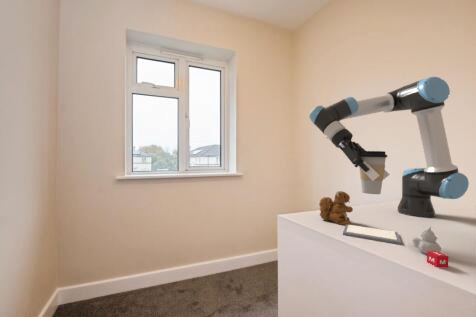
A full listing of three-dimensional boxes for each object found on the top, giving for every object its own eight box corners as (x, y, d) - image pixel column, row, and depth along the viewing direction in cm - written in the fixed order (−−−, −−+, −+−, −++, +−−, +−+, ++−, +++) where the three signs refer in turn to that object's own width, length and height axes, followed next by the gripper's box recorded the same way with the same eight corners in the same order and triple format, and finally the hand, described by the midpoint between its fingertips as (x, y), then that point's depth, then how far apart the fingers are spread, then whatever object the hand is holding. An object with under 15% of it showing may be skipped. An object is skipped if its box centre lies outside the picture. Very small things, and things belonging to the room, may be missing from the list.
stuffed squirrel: (351, 226, 92) (352, 193, 92) (315, 220, 100) (316, 190, 100) (353, 221, 101) (354, 191, 101) (320, 216, 108) (321, 188, 108)
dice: (448, 267, 58) (448, 256, 58) (436, 267, 58) (437, 256, 58) (437, 262, 61) (437, 251, 61) (426, 262, 61) (426, 251, 61)
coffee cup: (378, 191, 87) (379, 152, 87) (392, 195, 78) (393, 151, 78) (352, 190, 88) (353, 151, 88) (363, 194, 79) (364, 150, 78)
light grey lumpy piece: (440, 259, 63) (441, 230, 63) (410, 252, 67) (411, 225, 67) (441, 254, 67) (442, 226, 67) (412, 247, 71) (413, 221, 71)
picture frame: (397, 234, 84) (397, 231, 84) (401, 244, 73) (401, 241, 73) (346, 226, 92) (346, 223, 92) (342, 234, 82) (343, 231, 82)
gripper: (344, 143, 102) (384, 182, 89) (317, 139, 87) (359, 186, 75) (357, 130, 97) (400, 169, 85) (331, 124, 83) (378, 171, 71)
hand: (381, 177), depth 80 cm, fingers closed on coffee cup, 9 cm apart
